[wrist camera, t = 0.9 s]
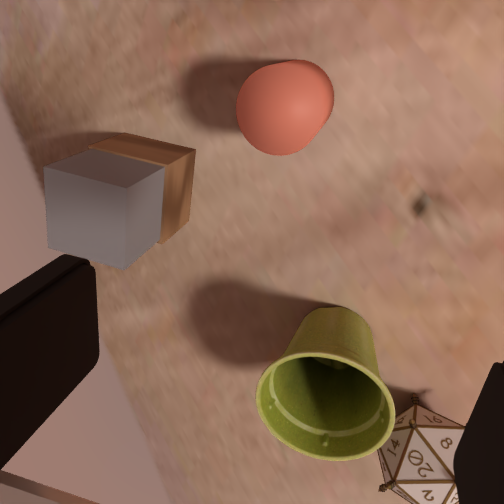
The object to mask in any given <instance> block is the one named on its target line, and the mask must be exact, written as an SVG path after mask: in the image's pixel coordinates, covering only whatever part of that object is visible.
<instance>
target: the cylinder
mask: <svg viewBox="0 0 504 504" xmlns="http://www.w3.org/2000/svg"><path fill="white" fill-rule="evenodd" d="M333 104H334V91H333V86H332V84H331V81H330V79H329V77H328V76H327V74H326V73H325V72H324V71H323V70H322V69H321V68H320V67H319V66H317V65H316V64H314V63H312V62H309V61H305V60H292V61H287V62H282V63H277V64H272V65H268V66H265V67H262V68H260V69H258V70H257V71H255V72H254V73H252V74H251V75H250V76H249V77H248V78H247V80H246V81H245V82H244V84H243V85H242V87H241V89H240V91H239V94H238V97H237V102H236V116H237V121H238V124H239V127H240V130H241V132H242V133H243V135H244V137H245V138H246V139H247V141H248V142H249V143H250V144H251V145H253V146H254V147H255V148H257V149H258V150H260V151H262V152H264V153H267V154H270V155H280V156H282V155H288V154H292V153H295V152H297V151H299V150H301V149H302V148H304V147H305V146H306V145H307V144H308V143H309V142H310V141H311V140H312V139H313V138H314V136H315V135H316V134H317V133H318V131H319V130H320V129H321V128H322V126H323V125H324V124H325V123H326V121H327V120H328V118H329V116H330V114H331V112H332V109H333Z"/></svg>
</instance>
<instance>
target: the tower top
mask: <svg viewBox="0 0 504 504" xmlns="http://www.w3.org/2000/svg"><path fill="white" fill-rule="evenodd" d="M43 172H44V188H45V205H46V221H47V237H48V248H51V249H54V250H58V251H61V252H64V253H68V254H71V255H74V256H78V257H81V258H85V259H88V260H91V261H95V262H98V263H101V264H105V265H108V266H111V267H115V268H118V269H122V270H125V269H127V268H128V267H129V266H130V265H131V264H132V263H133V262H135V261H136V260H137V259H138V258H139V257H140V256H142V255H143V254H144V253H145V252H146V251H147V250H148V249H150V248H151V247H152V246H153V245H154V244H155V243H157V242H158V241H159V240H160V231H161V217H162V203H163V188H164V174H165V167H164V166H160V165H156V164H152V163H148V162H144V161H140V160H136V159H132V158H128V157H124V156H120V155H115V154H111V153H107V152H103V151H99V150H95V149H90V150H87V151H84V152H81V153H79V154H76V155H73V156H70V157H68V158H65V159H62V160H60V161H57V162H54V163H51V164H49V165H46V166H43Z"/></svg>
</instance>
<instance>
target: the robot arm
mask: <svg viewBox="0 0 504 504" xmlns="http://www.w3.org/2000/svg"><path fill="white" fill-rule="evenodd" d="M98 358H99V333H98V313H97V292H96V273H95V269H94V267H93V266H91V265H90V262H89V260H87V259H85V258H81V257H77V256H72V255H68V254H64V255H61V256H59V257H58V258H56V259H55V260H53V261H52V262H50V263H49V264H47V265H45V266H44V267H42V268H41V269H39V270H38V271H36V272H34V273H33V274H31V275H30V276H28V277H27V278H25V279H23V280H22V281H20V282H19V283H17V284H16V285H14V286H13V287H11V288H9V289H8V290H6V291H5V292H3V293H2V294H0V504H99V503H96V502H93V501H90V500H87V499H84V498H81V497H78V496H75V495H72V494H70V493H67V492H64V491H61V490H58V489H55V488H52V487H49V486H46V485H43V484H40V483H37V482H34V481H31V480H28V479H25V478H23V477H19V476H17V475H13V474H11V473H8V472H5V471H2V470H1V469H2V468H3V467H4V465H5V464H6V463H7V462H8V461H9V460H10V459H11V458H12V457H13V456H14V454H15V453H16V452H17V451H18V450H19V449H20V448H21V447H22V446H23V445H24V444H25V442H26V441H27V440H28V439H29V438H30V437H31V436H32V435H33V434H34V432H35V431H36V430H37V429H38V428H39V427H40V426H41V425H42V424H43V423H44V422H45V420H46V419H47V418H48V417H49V416H50V415H51V414H52V413H53V412H54V411H55V409H56V408H57V407H58V406H59V405H60V404H61V403H62V402H63V401H64V399H65V398H66V397H67V396H68V395H69V394H70V393H71V392H72V391H73V390H74V388H75V387H76V386H77V385H78V384H79V383H80V382H81V381H82V380H83V379H84V378H85V377H86V375H87V374H88V373H89V372H90V371H91V370H92V369H93V368H94V366H95V365H96V363H97V361H98ZM453 470H454V476H455V482H456V488H457V494H458V500H459V504H504V361H503V363H498V362H496V363H494V364H493V366H492V368H491V370H490V372H489V374H488V377H487V379H486V381H485V384H484V386H483V388H482V391H481V393H480V395H479V397H478V400H477V402H476V404H475V407H474V409H473V411H472V414H471V416H470V418H469V421H468V423H467V425H466V427H465V430H464V432H463V434H462V437H461V439H460V441H459V444H458V446H457V448H456V451H455V454H454V459H453Z"/></svg>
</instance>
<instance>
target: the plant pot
mask: <svg viewBox="0 0 504 504" xmlns="http://www.w3.org/2000/svg"><path fill="white" fill-rule="evenodd" d="M321 357H323V358H321ZM255 399H256V406H257V410H258V413H259V415H260V417H261V419H262V421H263V422H264V424H265V425H266V427H267V428H268V429H269V431H270V432H271V433H272V434H273V435H274V436H275V437H276V438H277V439H278V440H280V441H281V442H282V443H284V444H286V445H287V446H288V447H290V448H291V449H293V450H295V451H297V452H300V453H302V454H304V455H307V456H310V457H313V458H317V459H323V460H329V461H347V460H353V459H358V458H361V457H364V456H367V455H369V454H371V453H373V452H374V451H375V450H377V449H379V448H380V447H381V446H382V445H383V444H384V443H385V442H386V441H387V439H388V438H389V437H390V435H391V433H392V430H393V427H394V423H395V406H394V402H393V399H392V396H391V394H390V392H389V390H388V388H387V386H386V385H385V384H384V382H383V381H382V379H381V377H380V375H379V370H378V365H377V360H376V354H375V348H374V342H373V337H372V333H371V330H370V328H369V326H368V324H367V323H366V322H365V320H364V319H363V318H362V317H360V316H359V315H358V314H356V313H355V312H353V311H351V310H349V309H346V308H343V307H332V308H318V309H316V310H313V311H312V312H310V313H309V314H308V315H307V316H306V317H305V318H304V319H303V321H302V322H301V324H300V326H299V328H298V329H297V331H296V333H295V335H294V336H293V338H292V340H291V342H290V343H289V345H288V347H287V349H286V350H285V352H284V354H283V355H282V356H281V357H280V358H279V359H277V360H275V361H274V362H273V363H271V364H270V365H269V366H268V367H267V368H266V369H265V371H264V372H263V374H262V375H261V377H260V379H259V381H258V384H257V388H256V395H255Z"/></svg>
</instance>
